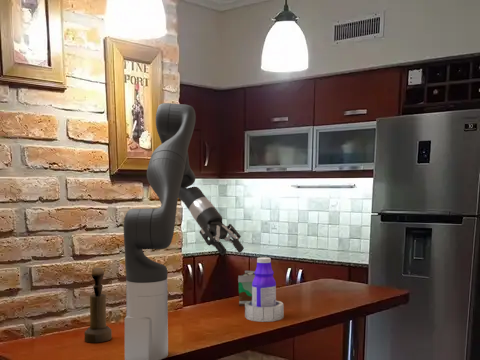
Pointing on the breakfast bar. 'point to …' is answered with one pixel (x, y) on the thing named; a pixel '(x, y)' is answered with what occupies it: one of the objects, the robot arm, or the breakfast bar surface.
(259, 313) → the ring holder
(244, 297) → the food container
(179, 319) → the breakfast bar surface
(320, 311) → the breakfast bar surface
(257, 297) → the bottle
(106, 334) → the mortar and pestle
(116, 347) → the breakfast bar surface
